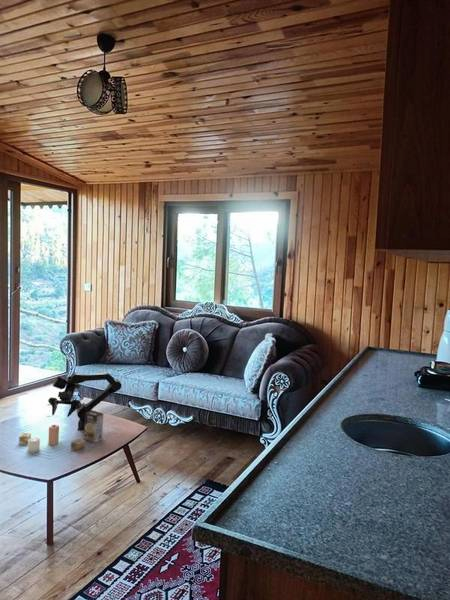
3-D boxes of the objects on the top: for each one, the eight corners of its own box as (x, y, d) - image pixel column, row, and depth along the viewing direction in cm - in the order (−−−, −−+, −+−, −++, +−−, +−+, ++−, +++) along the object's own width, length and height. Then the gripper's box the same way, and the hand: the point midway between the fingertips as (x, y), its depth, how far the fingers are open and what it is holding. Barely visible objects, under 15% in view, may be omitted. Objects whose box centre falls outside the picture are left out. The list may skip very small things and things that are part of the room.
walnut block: (84, 448, 251) (84, 441, 251) (77, 452, 247) (78, 444, 247) (77, 446, 254) (77, 439, 253) (70, 450, 249) (71, 442, 249)
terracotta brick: (58, 442, 257) (59, 424, 256) (55, 445, 253) (55, 426, 252) (51, 441, 258) (52, 423, 257) (48, 444, 254) (49, 426, 253)
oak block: (30, 440, 258) (30, 433, 257) (28, 444, 253) (28, 436, 252) (21, 440, 257) (21, 433, 256) (18, 444, 252) (19, 436, 252)
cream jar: (41, 448, 248) (41, 438, 247) (36, 453, 242) (36, 442, 241) (31, 447, 248) (31, 437, 248) (25, 452, 242) (25, 441, 242)
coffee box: (83, 439, 264) (84, 412, 262) (90, 435, 270) (91, 410, 268) (95, 442, 260) (96, 416, 259) (102, 439, 266) (103, 413, 264)
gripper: (50, 384, 266) (40, 408, 257) (80, 387, 265) (71, 411, 255) (55, 393, 275) (46, 416, 265) (85, 396, 273) (76, 419, 263)
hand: (60, 416), depth 262 cm, fingers open, 9 cm apart
